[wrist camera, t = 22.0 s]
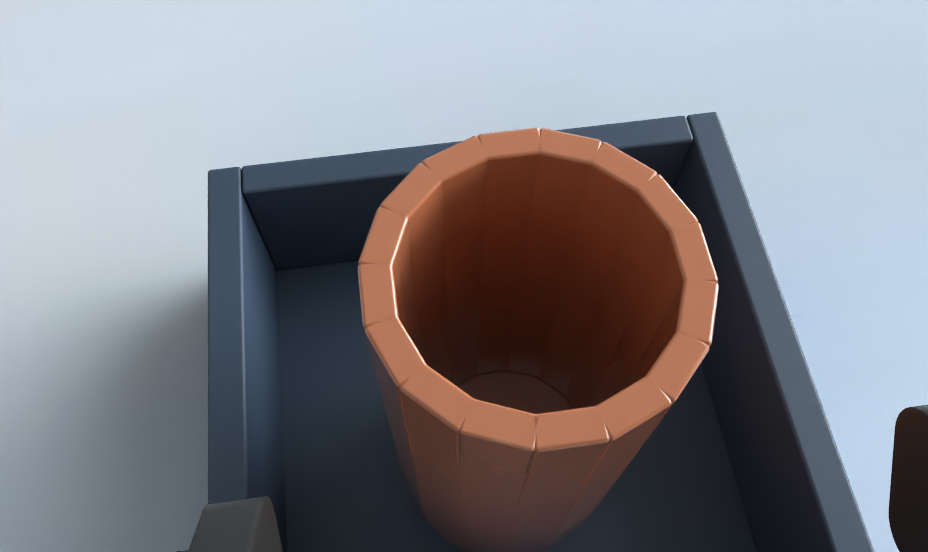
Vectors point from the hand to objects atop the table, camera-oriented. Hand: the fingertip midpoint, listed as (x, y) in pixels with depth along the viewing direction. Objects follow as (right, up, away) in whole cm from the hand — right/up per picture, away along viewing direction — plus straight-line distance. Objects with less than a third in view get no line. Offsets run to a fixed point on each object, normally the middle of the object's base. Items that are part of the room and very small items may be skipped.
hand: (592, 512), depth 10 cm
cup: (-1, -1, +10) cm, 10 cm away
